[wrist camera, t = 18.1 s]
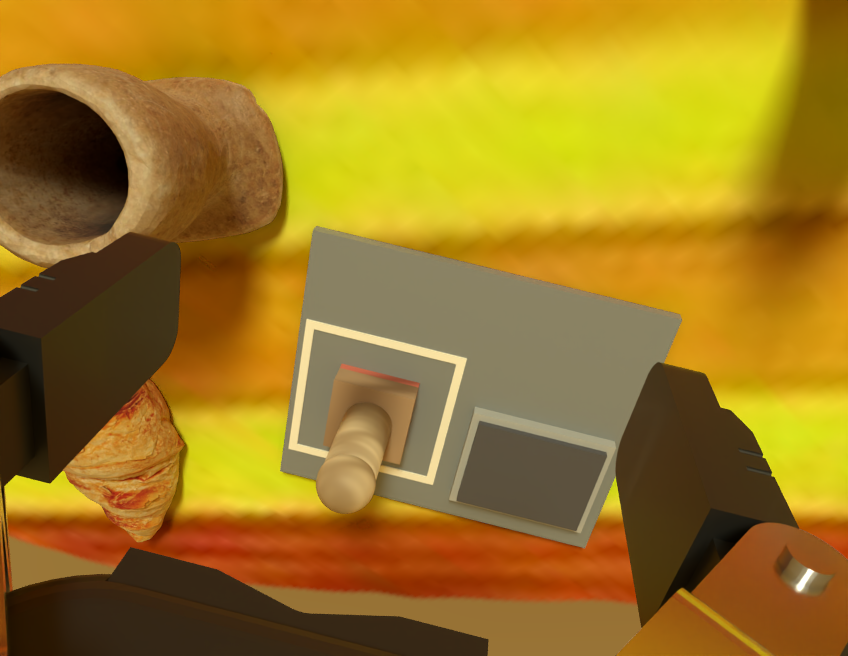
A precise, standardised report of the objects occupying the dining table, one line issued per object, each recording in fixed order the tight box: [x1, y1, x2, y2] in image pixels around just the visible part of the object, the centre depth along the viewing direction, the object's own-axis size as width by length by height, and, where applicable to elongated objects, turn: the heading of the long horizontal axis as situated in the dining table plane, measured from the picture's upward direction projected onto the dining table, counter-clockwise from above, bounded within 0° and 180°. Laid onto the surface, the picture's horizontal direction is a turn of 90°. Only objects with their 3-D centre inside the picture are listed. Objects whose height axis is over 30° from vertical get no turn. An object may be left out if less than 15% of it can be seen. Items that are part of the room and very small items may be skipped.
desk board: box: [280, 226, 682, 548], centre depth 49 cm, size 24×20×2 cm
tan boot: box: [0, 64, 283, 268], centre depth 38 cm, size 15×12×15 cm
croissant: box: [62, 379, 185, 542], centre depth 53 cm, size 21×10×8 cm, turn 5°
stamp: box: [316, 364, 420, 514], centre depth 46 cm, size 6×6×10 cm
